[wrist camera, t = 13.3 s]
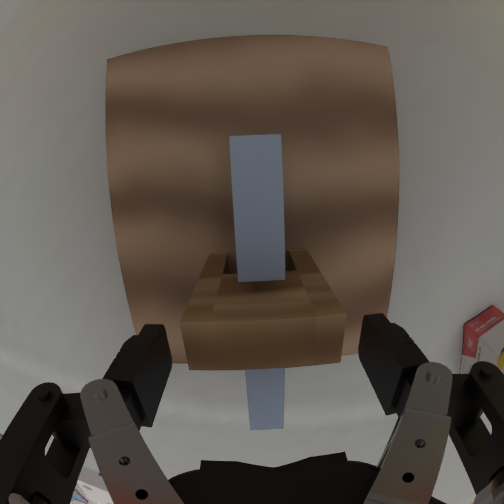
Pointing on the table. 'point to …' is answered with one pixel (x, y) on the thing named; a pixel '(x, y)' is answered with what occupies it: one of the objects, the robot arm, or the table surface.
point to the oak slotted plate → (262, 318)
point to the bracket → (94, 486)
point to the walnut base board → (219, 165)
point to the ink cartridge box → (484, 340)
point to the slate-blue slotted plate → (260, 251)
